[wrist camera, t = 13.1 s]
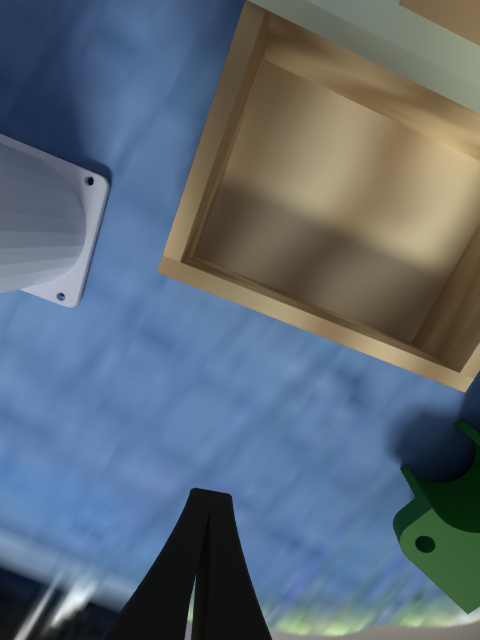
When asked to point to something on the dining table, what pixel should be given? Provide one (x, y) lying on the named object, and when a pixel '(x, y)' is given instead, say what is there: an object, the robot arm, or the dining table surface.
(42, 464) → the dining table surface
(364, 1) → the lid
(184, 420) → the dining table surface
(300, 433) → the dining table surface
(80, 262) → the robot arm
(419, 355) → the tan shallow box
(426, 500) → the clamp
